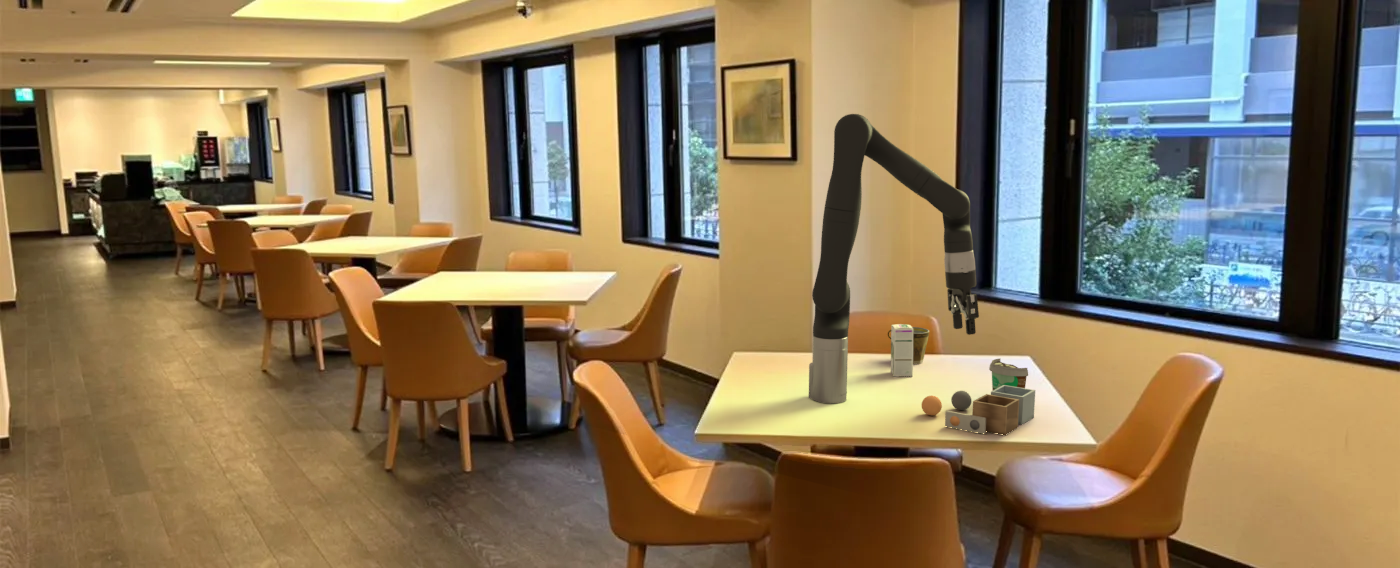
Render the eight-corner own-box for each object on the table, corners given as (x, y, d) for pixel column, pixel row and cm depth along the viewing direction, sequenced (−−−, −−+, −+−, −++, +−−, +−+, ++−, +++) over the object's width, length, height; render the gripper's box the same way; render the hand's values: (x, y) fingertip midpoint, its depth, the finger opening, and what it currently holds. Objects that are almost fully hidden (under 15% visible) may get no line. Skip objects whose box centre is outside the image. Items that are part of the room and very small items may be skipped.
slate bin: (989, 418, 253) (990, 391, 252) (1002, 411, 259) (1003, 384, 258) (1021, 424, 248) (1023, 397, 247) (1033, 417, 254) (1035, 390, 253)
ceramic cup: (932, 360, 314) (933, 329, 312) (921, 367, 305) (922, 334, 304) (892, 355, 321) (893, 324, 319) (880, 361, 312) (881, 330, 311)
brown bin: (971, 429, 244) (973, 401, 243) (985, 421, 251) (986, 394, 250) (1004, 435, 239) (1006, 407, 238) (1017, 427, 246) (1019, 399, 245)
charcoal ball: (947, 410, 260) (948, 391, 259) (955, 406, 264) (956, 387, 263) (966, 413, 257) (967, 394, 256) (974, 409, 261) (975, 390, 260)
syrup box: (913, 376, 294) (914, 327, 292) (892, 376, 294) (894, 327, 292) (909, 372, 300) (911, 323, 297) (889, 372, 300) (890, 323, 297)
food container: (978, 395, 274) (979, 359, 272) (997, 393, 276) (999, 357, 274) (1007, 407, 263) (1009, 370, 261) (1026, 405, 265) (1028, 368, 263)
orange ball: (917, 415, 256) (918, 396, 255) (926, 411, 260) (927, 392, 259) (936, 419, 253) (936, 399, 252) (944, 414, 256) (945, 395, 256)
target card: (944, 427, 246) (945, 411, 245) (946, 426, 247) (946, 410, 246) (984, 434, 240) (985, 418, 239) (985, 434, 241) (986, 417, 240)
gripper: (935, 267, 264) (940, 328, 266) (956, 273, 250) (961, 338, 252) (963, 264, 265) (967, 325, 267) (985, 270, 251) (989, 334, 253)
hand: (964, 331), depth 260 cm, fingers open, 8 cm apart
